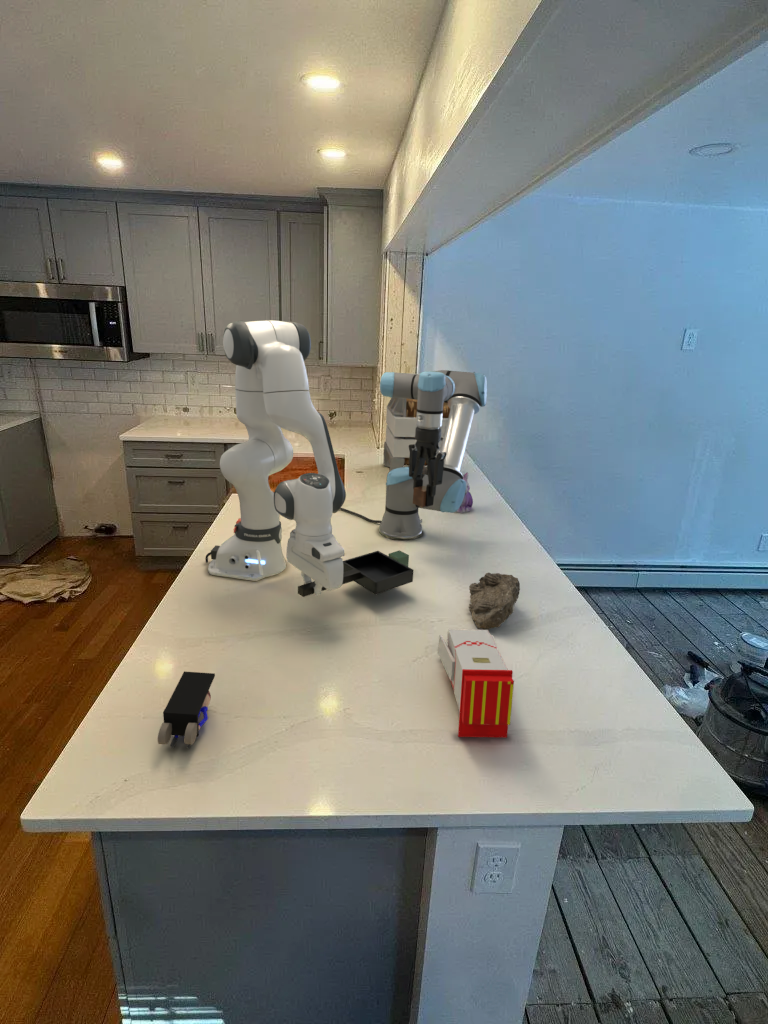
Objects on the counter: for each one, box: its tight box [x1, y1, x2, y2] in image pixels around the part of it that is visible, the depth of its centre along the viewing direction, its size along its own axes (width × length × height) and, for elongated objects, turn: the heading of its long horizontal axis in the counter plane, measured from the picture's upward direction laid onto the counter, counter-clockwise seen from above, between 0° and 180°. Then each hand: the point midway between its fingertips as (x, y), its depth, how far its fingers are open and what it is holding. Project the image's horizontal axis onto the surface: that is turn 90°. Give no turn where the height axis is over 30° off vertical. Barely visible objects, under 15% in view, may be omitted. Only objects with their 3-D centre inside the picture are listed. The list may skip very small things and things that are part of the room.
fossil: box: [468, 572, 521, 630], centre depth 149 cm, size 22×10×15 cm
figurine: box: [455, 472, 474, 514], centre depth 225 cm, size 9×10×15 cm
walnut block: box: [413, 486, 426, 507], centre depth 171 cm, size 4×4×5 cm
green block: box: [388, 550, 410, 567], centre depth 172 cm, size 4×4×5 cm
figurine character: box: [157, 670, 216, 749], centre depth 104 cm, size 7×8×15 cm
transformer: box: [383, 397, 462, 473], centre depth 268 cm, size 34×33×41 cm
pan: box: [297, 550, 415, 598], centre depth 150 cm, size 15×31×4 cm, turn 130°
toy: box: [437, 628, 515, 738], centre depth 117 cm, size 12×13×30 cm
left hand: (312, 591), depth 143 cm, fingers closed on pan, 2 cm apart
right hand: (423, 503), depth 172 cm, fingers closed on walnut block, 4 cm apart
